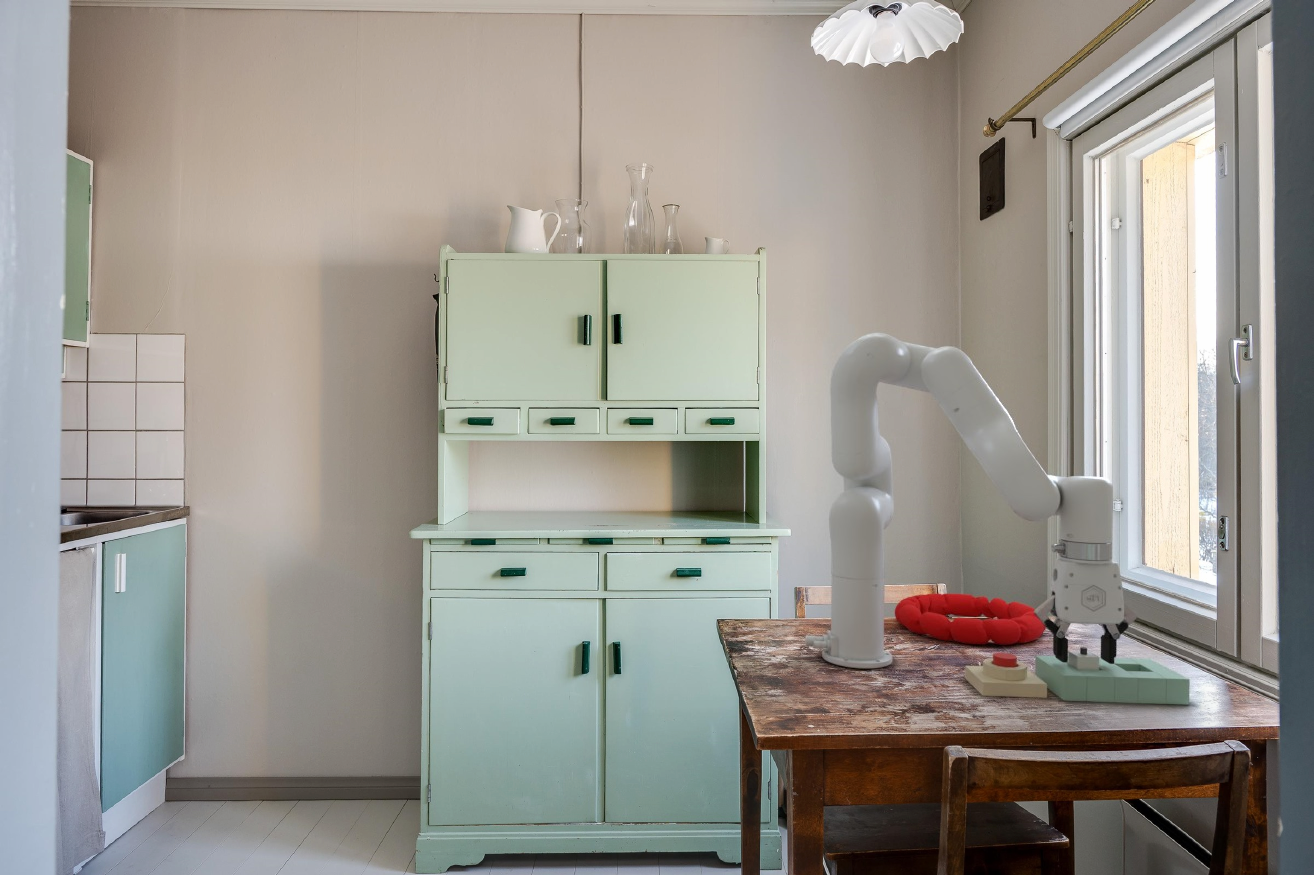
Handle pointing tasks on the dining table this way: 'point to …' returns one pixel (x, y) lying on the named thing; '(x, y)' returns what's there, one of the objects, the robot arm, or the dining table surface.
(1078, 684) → the green socket board
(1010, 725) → the dining table surface
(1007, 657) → the power button
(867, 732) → the dining table surface
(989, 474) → the robot arm
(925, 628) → the decorative ring
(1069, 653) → the white block with knob
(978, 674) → the switch box
